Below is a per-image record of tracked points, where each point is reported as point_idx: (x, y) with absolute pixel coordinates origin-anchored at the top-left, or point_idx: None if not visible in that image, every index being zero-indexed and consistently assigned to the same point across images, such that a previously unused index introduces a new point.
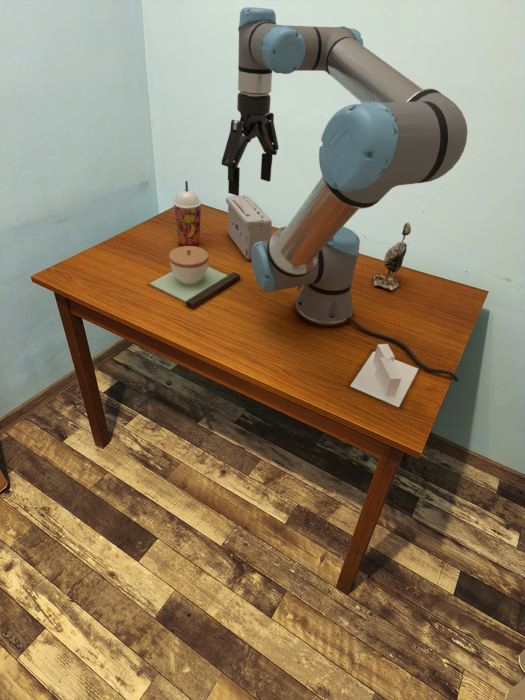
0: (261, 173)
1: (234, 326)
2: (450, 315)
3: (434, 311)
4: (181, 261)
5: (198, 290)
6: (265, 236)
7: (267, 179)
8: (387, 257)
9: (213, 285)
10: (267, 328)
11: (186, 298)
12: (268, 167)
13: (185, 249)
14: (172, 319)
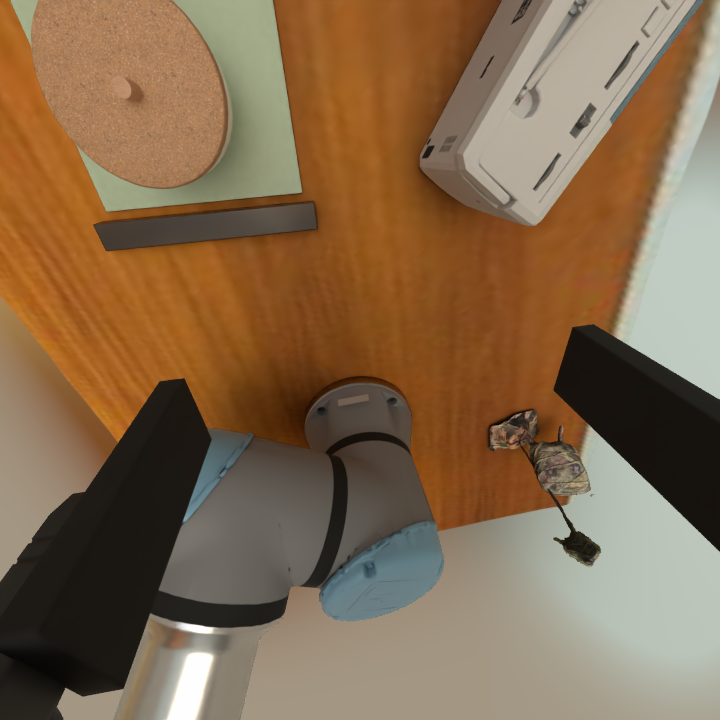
0: (604, 355)
1: (176, 356)
2: (475, 508)
3: (472, 496)
4: (73, 122)
5: (169, 189)
6: (486, 209)
7: (563, 388)
8: (545, 461)
9: (213, 217)
10: (232, 395)
11: (112, 198)
12: (633, 455)
13: (138, 33)
14: (37, 244)
